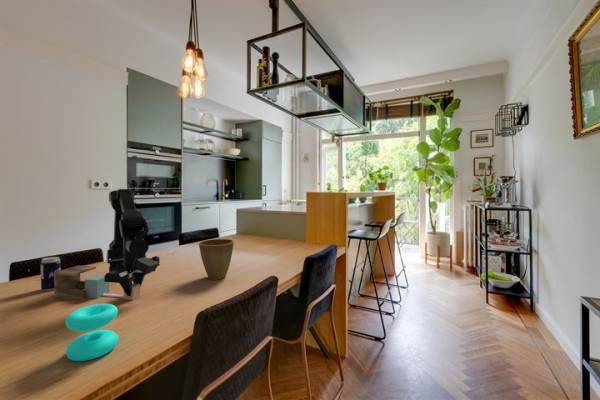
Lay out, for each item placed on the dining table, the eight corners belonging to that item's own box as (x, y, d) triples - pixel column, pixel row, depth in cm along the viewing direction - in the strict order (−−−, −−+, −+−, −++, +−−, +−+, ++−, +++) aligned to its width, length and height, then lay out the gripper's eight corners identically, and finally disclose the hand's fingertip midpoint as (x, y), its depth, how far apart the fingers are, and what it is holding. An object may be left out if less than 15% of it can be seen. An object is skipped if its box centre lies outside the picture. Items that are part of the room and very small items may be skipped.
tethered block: (97, 292, 102) (97, 275, 102) (141, 295, 100) (141, 277, 99) (85, 297, 97) (84, 279, 97) (131, 300, 95) (131, 282, 94)
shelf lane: (78, 288, 106) (78, 265, 106) (105, 290, 104) (105, 267, 104) (54, 297, 97) (54, 272, 97) (83, 299, 95) (83, 274, 95)
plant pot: (221, 270, 132) (221, 237, 131) (240, 276, 122) (240, 241, 122) (192, 277, 120) (192, 241, 120) (211, 285, 111) (211, 246, 110)
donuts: (100, 299, 72) (127, 305, 68) (101, 336, 72) (127, 344, 68) (55, 315, 62) (82, 323, 59) (56, 357, 63) (83, 368, 59)
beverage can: (49, 292, 102) (48, 260, 101) (37, 291, 103) (36, 259, 102) (64, 287, 107) (64, 257, 107) (53, 285, 108) (52, 256, 108)
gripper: (133, 258, 86) (133, 306, 87) (170, 246, 105) (170, 286, 105) (102, 256, 88) (103, 304, 88) (144, 245, 106) (144, 284, 107)
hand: (133, 293), depth 97 cm, fingers closed on tethered block, 3 cm apart
